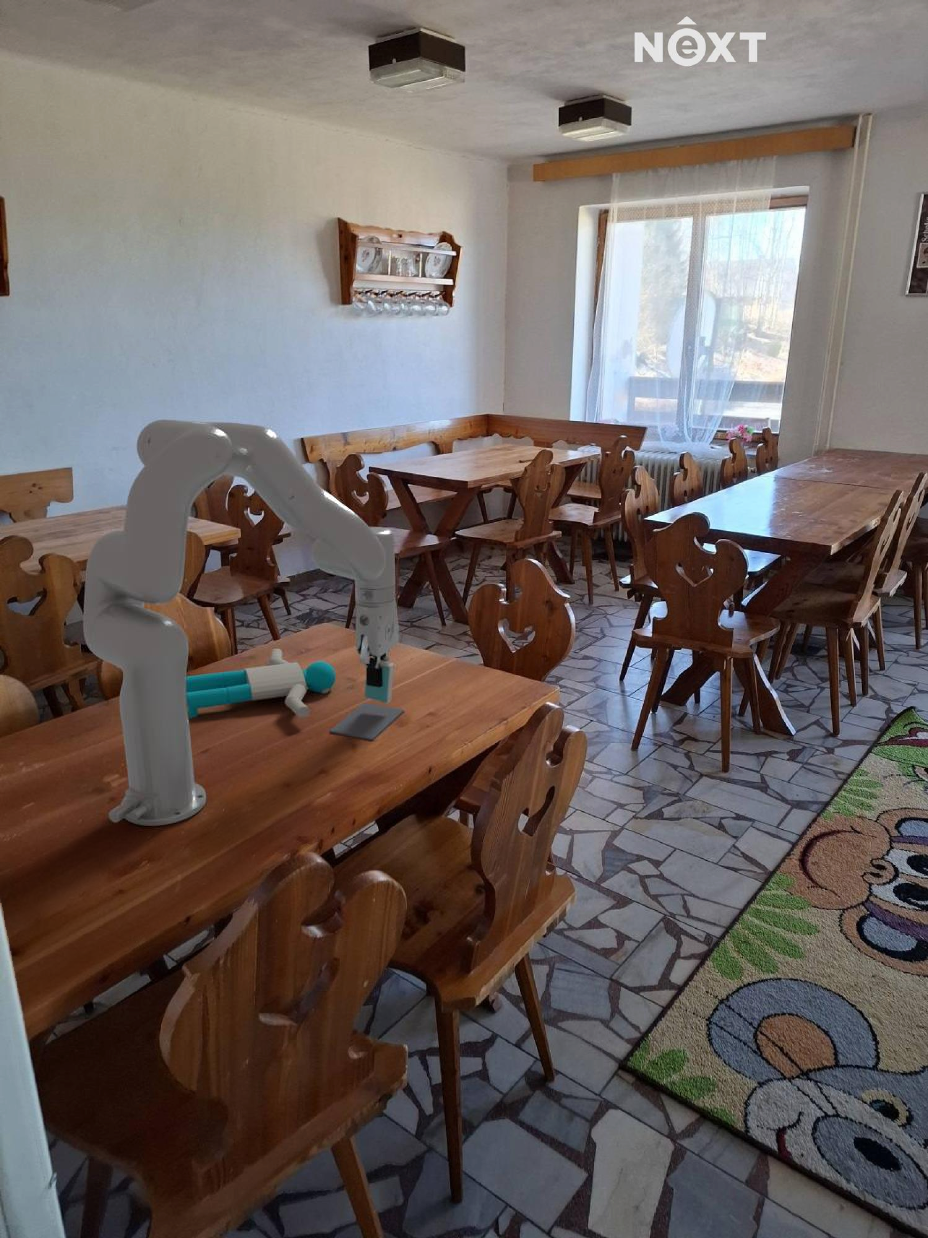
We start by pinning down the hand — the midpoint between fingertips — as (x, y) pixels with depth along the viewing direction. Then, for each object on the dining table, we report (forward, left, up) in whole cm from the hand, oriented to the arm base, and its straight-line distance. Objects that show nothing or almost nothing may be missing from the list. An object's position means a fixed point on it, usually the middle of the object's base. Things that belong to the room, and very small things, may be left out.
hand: (377, 683), depth 165 cm
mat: (-4, 0, -6) cm, 8 cm away
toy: (-2, +25, -7) cm, 26 cm away
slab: (0, 0, -4) cm, 4 cm away
